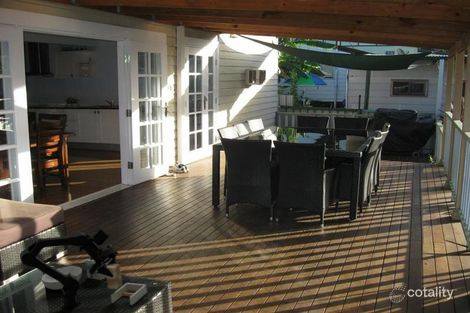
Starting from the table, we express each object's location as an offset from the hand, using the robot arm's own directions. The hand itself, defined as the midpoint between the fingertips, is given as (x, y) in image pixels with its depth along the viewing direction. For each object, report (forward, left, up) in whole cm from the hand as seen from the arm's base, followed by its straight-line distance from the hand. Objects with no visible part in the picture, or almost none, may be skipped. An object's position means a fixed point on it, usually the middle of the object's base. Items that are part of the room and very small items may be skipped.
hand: (116, 274), depth 232 cm
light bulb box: (+21, +29, -14) cm, 39 cm away
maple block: (0, +1, -7) cm, 7 cm away
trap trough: (+3, -4, -13) cm, 14 cm away
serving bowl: (+8, +42, -14) cm, 45 cm away
